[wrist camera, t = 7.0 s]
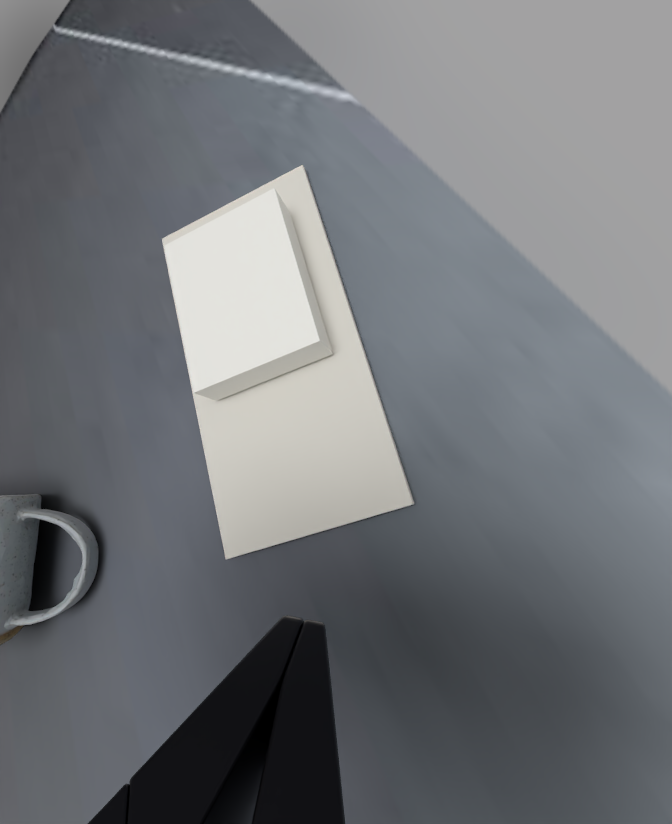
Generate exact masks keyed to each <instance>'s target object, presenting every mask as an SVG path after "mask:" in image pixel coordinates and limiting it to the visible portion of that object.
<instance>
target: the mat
mask: <svg viewBox="0 0 672 824" xmlns="http://www.w3.org/2000/svg"><path fill="white" fill-rule="evenodd" d="M273 188H275V190H276V191H277V193H278V194H279V196H280V197H281V199H282V201H283V202H284V204H285V205H286V207H287V208H288V210H289V211H290V214H291V217H292V220H293V224H294V227H295V230H296V234H297V237H298V240H299V243H300V247H301V250H302V253H303V257H304V260H305V263H306V266H307V270H308V273H309V276H310V280H311V283H312V286H313V289H314V293H315V296H316V299H317V303H318V306H319V309H320V312H321V316H322V319H323V322H324V326H325V329H326V332H327V335H328V339H329V342H330V345H331V349H332V352H333V354H332V355H329V356H327V357H324V358H322V359H320V360H317V361H315V362H312V363H310V364H307V365H305V366H302V367H300V368H297V369H295V370H292V371H290V372H287V373H285V374H282V375H280V376H277V377H275V378H272V379H270V380H267V381H265V382H262V383H260V384H257V385H255V386H252V387H250V388H247V389H245V390H242V391H240V392H237V393H235V394H232V395H230V396H227V397H225V398H222V399H220V400H217V401H216V400H213V399H210V398H207V397H204V396H201V395H198V394H195V393H194V392H193V387H192V382H191V377H190V372H189V367H188V362H187V357H186V352H185V347H184V342H183V337H182V332H181V327H180V322H179V317H178V312H177V307H176V302H175V297H174V292H173V287H172V282H171V277H170V272H169V267H168V262H167V257H166V252H165V247H164V245H166V244H168V243H170V242H172V241H174V240H176V239H178V238H180V237H181V236H183V235H185V234H187V233H189V232H191V231H193V230H195V229H197V228H199V227H201V226H203V225H204V224H206V223H208V222H210V221H212V220H214V219H216V218H218V217H220V216H222V215H224V214H225V213H227V212H229V211H231V210H233V209H235V208H237V207H239V206H241V205H243V204H245V203H247V202H248V201H250V200H252V199H254V198H256V197H258V196H260V195H262V194H264V193H266V192H268V191H269V190H271V189H273ZM162 242H163V247H164V252H165V257H166V262H167V267H168V272H169V277H170V282H171V287H172V292H173V297H174V302H175V307H176V312H177V317H178V322H179V327H180V332H181V337H182V342H183V347H184V352H185V357H186V362H187V367H188V372H189V377H190V382H191V387H192V392H193V397H194V402H195V407H196V412H197V417H198V422H199V427H200V432H201V437H202V442H203V447H204V452H205V457H206V462H207V468H208V473H209V478H210V483H211V488H212V493H213V498H214V503H215V508H216V513H217V518H218V523H219V528H220V533H221V538H222V543H223V548H224V553H225V558H226V559H229V558H233V557H236V556H239V555H243V554H246V553H250V552H253V551H256V550H260V549H263V548H267V547H270V546H273V545H277V544H280V543H284V542H287V541H290V540H294V539H297V538H301V537H304V536H307V535H311V534H314V533H318V532H321V531H325V530H328V529H331V528H335V527H338V526H342V525H345V524H348V523H352V522H355V521H359V520H362V519H365V518H369V517H372V516H376V515H379V514H382V513H386V512H389V511H393V510H396V509H399V508H403V507H406V506H410V505H413V504H415V503H414V500H413V497H412V494H411V491H410V488H409V485H408V482H407V479H406V475H405V472H404V469H403V466H402V463H401V460H400V457H399V454H398V451H397V448H396V445H395V442H394V439H393V436H392V433H391V430H390V427H389V424H388V420H387V417H386V414H385V411H384V408H383V405H382V402H381V399H380V396H379V393H378V390H377V387H376V384H375V381H374V378H373V375H372V372H371V369H370V365H369V362H368V359H367V356H366V353H365V350H364V347H363V344H362V341H361V338H360V335H359V332H358V329H357V326H356V323H355V320H354V317H353V314H352V310H351V307H350V304H349V301H348V298H347V295H346V292H345V289H344V286H343V283H342V280H341V277H340V274H339V271H338V268H337V265H336V262H335V259H334V255H333V252H332V249H331V246H330V243H329V240H328V237H327V234H326V231H325V228H324V225H323V222H322V219H321V216H320V213H319V210H318V207H317V204H316V201H315V197H314V194H313V191H312V188H311V185H310V182H309V179H308V176H307V173H306V170H305V168H304V166H303V165H301V166H299V167H297V168H296V169H294V170H292V171H290V172H288V173H286V174H284V175H282V176H280V177H278V178H277V179H275V180H273V181H271V182H269V183H267V184H265V185H263V186H261V187H260V188H258V189H256V190H254V191H252V192H250V193H248V194H246V195H244V196H242V197H241V198H239V199H237V200H235V201H233V202H231V203H229V204H227V205H225V206H224V207H222V208H220V209H218V210H216V211H214V212H212V213H210V214H208V215H206V216H205V217H203V218H201V219H199V220H197V221H195V222H193V223H191V224H189V225H188V226H186V227H184V228H182V229H180V230H178V231H176V232H174V233H172V234H170V235H169V236H167V237H165V238H163V239H162Z"/></svg>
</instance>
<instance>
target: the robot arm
mask: <svg viewBox="0 0 672 824" xmlns="http://www.w3.org/2000/svg"><path fill="white" fill-rule="evenodd" d="M88 824H345V817H344V807H343V797H342V787H341V777H340V767H339V757H338V747H337V738H336V728H335V718H334V708H333V698H332V688H331V678H330V668H329V658H328V648H327V638H326V629H325V625H324V623H322V622H317V621H312V620H306V621H305V622H304V621H303V619H301V618H297V617H292V616H283V617H282V618H281V619H280V620H279V621H278V622H277V623H276V624H275V625H274V626H273V627H272V628H271V629H270V631H269V632H268V633H267V634H266V635H265V636H264V637H263V638H262V639H261V640H260V641H259V642H258V643H257V644H256V645H255V647H254V648H253V649H252V650H251V651H250V652H249V653H248V654H247V655H246V656H245V657H244V658H243V659H242V660H241V661H240V663H239V664H238V665H237V666H236V667H235V668H234V669H233V670H232V671H231V672H230V673H229V674H228V675H227V676H226V677H225V679H224V680H223V681H222V682H221V683H220V684H219V685H218V686H217V687H216V688H215V689H214V690H213V691H212V692H211V693H210V695H209V696H208V697H207V698H206V699H205V700H204V701H203V702H202V703H201V704H200V705H199V706H198V707H197V708H196V709H195V711H194V712H193V713H192V714H191V715H190V716H189V717H188V718H187V719H186V720H185V721H184V722H183V723H182V724H181V725H180V727H179V728H178V729H177V730H176V731H175V732H174V733H173V734H172V735H171V736H170V737H169V738H168V739H167V740H166V741H165V743H164V744H163V745H162V746H161V747H160V748H159V749H158V750H157V751H156V752H155V753H154V754H153V755H152V756H151V757H150V759H149V760H148V761H147V762H146V763H145V764H144V765H143V766H142V767H141V768H140V769H139V770H138V771H137V772H136V774H135V775H134V776H133V777H132V778H131V779H130V784H125V785H124V786H123V787H122V788H121V789H120V790H119V791H118V792H117V793H116V795H115V796H114V797H113V798H112V799H111V800H110V801H109V802H108V803H107V804H106V805H105V806H104V807H103V809H102V810H101V811H100V812H99V813H98V814H97V815H96V816H95V817H94V818H93V819H92V820H91V821H90V822H89V823H88Z"/></svg>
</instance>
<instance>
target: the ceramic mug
mask: <svg viewBox="0 0 672 824" xmlns="http://www.w3.org/2000/svg"><path fill="white" fill-rule="evenodd" d="M39 520H45V521H48V522H51V523H54V524H57V525H58V526H60V527H62V528H63V529H64V530H65V531H66V532H68V533H69V534H70V535H71V537H72V538H73V539H74V540H75V541H76V542H77V544H78V546H79V547H80V549H81V551H82V558H83V559H82V566H81V569H80V572H79V573H78V575H77V576H76V578H75V579H74V583H73V588H72V590H71V591H70V592H69V593H68V594H67V595H66V597H65V599H64V601H62V602H61V603H60V604H58V605H57V606H55V607H53V608H49V609H44V610H40V611H28V609H29V606H30V601H31V594H32V580H33V567H34V561H35V555H36V547H37V539H38V530H39ZM97 567H98V544H97V542H96V539H95V536H94V534H93V533H92V531H91V530H90V529H89V528H88V527H87V526H86V525H85V524H84V523H83V522H82V521H81V520H79V519H77V518H75V517H73V516H71V515H69V514H65V513H62V512H58V511H53V510H48V509H41V496H40V495H39V494H28V495H2V496H0V645H1V644H3V643H5V642H6V641H8V640H10V639H11V638H12V637H13V636H15V635H16V634H17V633H18V632H19V631H20V629H21V628H22V627H23V625H31V624H34V623H37V622H41V621H44V620H47V619H49V618H52V617H54V616H56V615H58V614H60V613H62V612H64V611H65V610H67V609H69V608H70V607H72V606H73V605H74V604H75V603H77V602H78V601H79V600H80V599H81V598H82V597H83V596H84V595H85V593H86V592H87V591H88V589H89V588H90V586H91V584H92V582H93V580H94V578H95V575H96V572H97Z"/></svg>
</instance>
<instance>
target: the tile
mask: <svg viewBox="0 0 672 824" xmlns="http://www.w3.org/2000/svg"><path fill="white" fill-rule="evenodd" d="M164 247H165V252H166V257H167V262H168V267H169V272H170V277H171V282H172V287H173V292H174V297H175V302H176V307H177V312H178V317H179V322H180V327H181V332H182V337H183V342H184V347H185V352H186V357H187V362H188V367H189V372H190V377H191V382H192V387H193V392H194V393H195V394H198V395H201V396H204V397H207V398H210V399H213V400H216V401H217V400H220V399H222V398H225V397H227V396H230V395H232V394H235V393H237V392H240V391H242V390H245V389H247V388H250V387H252V386H255V385H257V384H260V383H262V382H265V381H267V380H270V379H272V378H275V377H277V376H280V375H282V374H285V373H287V372H290V371H292V370H295V369H297V368H300V367H302V366H305V365H307V364H310V363H312V362H315V361H317V360H320V359H322V358H324V357H327V356H329V355H332V354H333V352H332V349H331V345H330V342H329V339H328V335H327V332H326V329H325V326H324V322H323V319H322V316H321V312H320V309H319V306H318V303H317V299H316V296H315V293H314V289H313V286H312V283H311V280H310V276H309V273H308V270H307V266H306V263H305V260H304V257H303V253H302V250H301V247H300V243H299V240H298V237H297V234H296V230H295V227H294V224H293V220H292V217H291V214H290V211H289V210H288V208H287V207H286V205H285V204H284V202H283V201H282V199H281V197H280V196H279V194H278V193H277V191H276V190H275V188H273V189H271V190H269V191H268V192H266V193H264V194H262V195H260V196H258V197H256V198H254V199H252V200H250V201H248V202H247V203H245V204H243V205H241V206H239V207H237V208H235V209H233V210H231V211H229V212H227V213H225V214H224V215H222V216H220V217H218V218H216V219H214V220H212V221H210V222H208V223H206V224H204V225H203V226H201V227H199V228H197V229H195V230H193V231H191V232H189V233H187V234H185V235H183V236H181V237H180V238H178V239H176V240H174V241H172V242H170V243H168V244H166V245H164Z"/></svg>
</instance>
